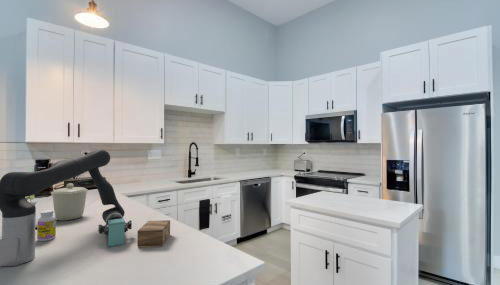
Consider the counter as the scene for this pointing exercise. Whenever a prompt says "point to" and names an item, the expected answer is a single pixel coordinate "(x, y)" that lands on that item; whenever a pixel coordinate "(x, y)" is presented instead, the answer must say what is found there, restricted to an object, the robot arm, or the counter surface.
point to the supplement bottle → (46, 226)
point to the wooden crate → (153, 233)
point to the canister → (69, 202)
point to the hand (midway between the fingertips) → (116, 231)
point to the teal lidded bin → (116, 232)
